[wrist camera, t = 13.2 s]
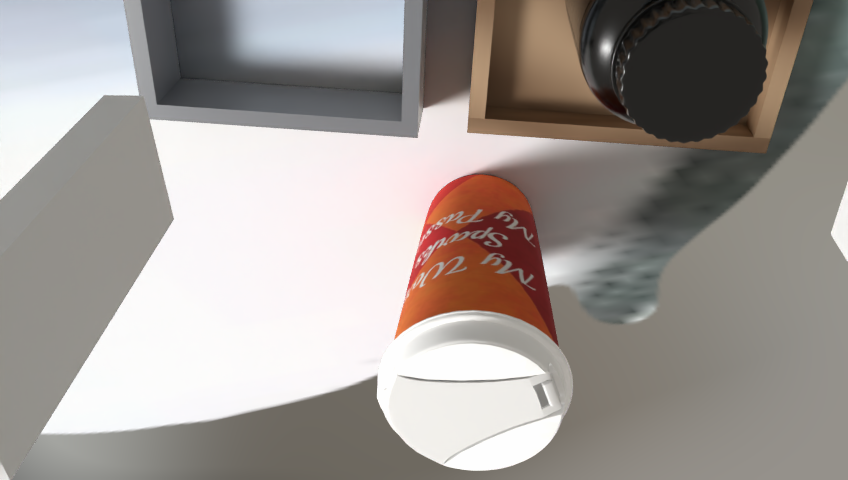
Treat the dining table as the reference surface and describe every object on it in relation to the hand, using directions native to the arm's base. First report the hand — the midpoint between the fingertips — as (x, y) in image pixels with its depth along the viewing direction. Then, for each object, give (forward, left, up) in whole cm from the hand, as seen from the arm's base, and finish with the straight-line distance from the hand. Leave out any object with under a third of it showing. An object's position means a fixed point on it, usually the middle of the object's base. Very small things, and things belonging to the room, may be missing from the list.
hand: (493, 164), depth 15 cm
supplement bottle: (+3, +7, -24) cm, 25 cm away
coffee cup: (+16, +1, -25) cm, 30 cm away
